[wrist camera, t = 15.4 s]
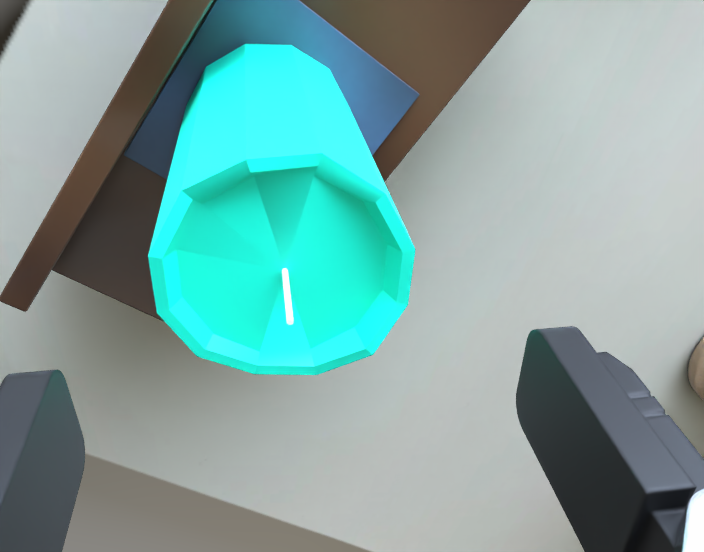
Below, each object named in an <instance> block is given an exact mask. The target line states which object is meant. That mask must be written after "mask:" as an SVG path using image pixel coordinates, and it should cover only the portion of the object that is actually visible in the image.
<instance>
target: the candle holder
mask: <svg viewBox="0 0 704 552" xmlns="http://www.w3.org/2000/svg"><path fill="white" fill-rule="evenodd" d="M688 378H689V382H690V384H691V386H692V388H693V389H694V391H695V392H696V393H697V394H698V395H699V396H700V397H701V398H702V399H703V400H704V337H703V338H702V340H701V341H700V342H699V344H698V345H697V347H696V348H695V350H694V352H693V354H692V356H691V359H690V361H689V366H688Z"/></svg>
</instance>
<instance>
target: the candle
mask: <svg viewBox="0 0 704 552" xmlns="http://www.w3.org/2000/svg"><path fill="white" fill-rule="evenodd" d="M414 256H415V248H414V245H413V243H412V241H411V239H410V237H409V235H408V232H407V230H406V228H405V226H404V224H403V222H402V220H401V217H400V215H399V213H398V211H397V209H396V207H395V204H394V202H393V200H392V198H391V196H390V194H389V192H388V189H387V187H386V185H385V183H384V181H383V179H382V176H381V174H380V172H379V170H378V168H377V166H376V164H375V161H374V159H373V157H372V155H371V153H370V151H369V149H368V146H367V144H366V142H365V140H364V138H363V136H362V133H361V131H360V129H359V127H358V125H357V123H356V121H355V118H354V116H353V114H352V112H351V110H350V108H349V106H348V104H347V102H346V100H345V98H344V96H343V94H342V92H341V90H340V88H339V87H338V85H337V83H336V81H335V79H334V77H333V75H332V73H331V71H330V69H329V68H327V67H325V66H324V65H322V64H321V63H319V62H317V61H316V60H314V59H313V58H311V57H309V56H308V55H306V54H305V53H303V52H301V51H300V50H298V49H297V48H295V47H293V46H292V45H270V44H244V45H242V46H241V47H239V48H237V49H235V50H234V51H232V52H230V53H229V54H227V55H225V56H224V57H222V58H220V59H218V60H217V61H215V62H213V63H212V64H210V65H208V66H206V68H205V70H204V72H203V74H202V76H201V78H200V80H199V81H198V83H197V85H196V87H195V89H194V91H193V93H192V95H191V97H190V99H189V101H188V103H187V105H186V108H185V112H184V116H183V120H182V124H181V128H180V132H179V136H178V140H177V144H176V148H175V151H174V155H173V159H172V163H171V167H170V171H169V175H168V179H167V183H166V187H165V191H164V195H163V199H162V203H161V207H160V210H159V214H158V218H157V222H156V226H155V230H154V234H153V238H152V242H151V246H150V250H149V254H148V259H149V266H150V272H151V279H152V285H153V291H154V298H155V304H156V311H157V314H158V315H159V316H160V317H161V318H162V319H163V320H164V321H165V322H166V323H167V325H168V326H169V327H170V328H171V329H172V330H173V331H174V332H175V333H176V334H177V335H178V336H179V338H180V339H181V340H182V341H183V342H184V343H185V344H186V345H187V346H188V347H189V348H190V349H191V351H192V352H193V353H194V354H195V355H196V356H197V357H200V358H204V359H207V360H210V361H213V362H217V363H220V364H223V365H226V366H230V367H233V368H236V369H239V370H242V371H246V372H249V373H252V374H277V375H318V374H321V373H324V372H326V371H329V370H332V369H335V368H338V367H340V366H343V365H346V364H349V363H352V362H354V361H357V360H360V359H363V358H366V357H368V356H371V355H373V354H374V353H375V351H376V350H377V349H378V347H379V346H380V344H381V343H382V341H383V340H384V338H385V337H386V336H387V334H388V333H389V331H390V330H391V328H392V327H393V326H394V324H395V323H396V321H397V320H398V318H399V317H400V315H401V314H402V313H403V311H404V310H405V308H406V307H407V305H408V300H409V293H410V286H411V278H412V271H413V264H414Z"/></svg>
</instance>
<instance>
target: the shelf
mask: <svg viewBox="0 0 704 552" xmlns="http://www.w3.org/2000/svg"><path fill="white" fill-rule="evenodd" d="M529 2H530V0H169V1H168V2H167V4H166V6H165V8H164V9H163V11H162V13H161V15H160V16H159V18H158V20H157V22H156V23H155V25H154V27H153V29H152V30H151V32H150V34H149V36H148V37H147V39H146V41H145V43H144V44H143V46H142V48H141V50H140V52H139V53H138V55H137V57H136V59H135V60H134V62H133V64H132V66H131V67H130V69H129V71H128V73H127V74H126V76H125V78H124V80H123V81H122V83H121V85H120V87H119V88H118V90H117V92H116V94H115V95H114V97H113V99H112V101H111V102H110V104H109V106H108V108H107V109H106V111H105V113H104V115H103V116H102V118H101V120H100V122H99V123H98V125H97V127H96V129H95V130H94V132H93V134H92V136H91V137H90V139H89V141H88V143H87V144H86V146H85V148H84V150H83V151H82V153H81V155H80V157H79V158H78V160H77V162H76V164H75V165H74V167H73V169H72V171H71V172H70V174H69V176H68V178H67V179H66V181H65V183H64V185H63V186H62V188H61V190H60V192H59V193H58V195H57V197H56V199H55V200H54V202H53V204H52V206H51V207H50V209H49V211H48V213H47V215H46V216H45V218H44V220H43V222H42V223H41V225H40V227H39V229H38V230H37V232H36V234H35V236H34V237H33V239H32V241H31V243H30V244H29V246H28V248H27V250H26V251H25V253H24V255H23V257H22V258H21V260H20V262H19V264H18V265H17V267H16V269H15V271H14V272H13V274H12V276H11V278H10V279H9V281H8V283H7V285H6V286H5V288H4V290H3V292H2V293H1V295H0V301H1V302H3V303H5V304H8V305H10V306H12V307H15V308H17V309H20V310H22V311H25V312H26V311H27V310H28V309H29V307H30V305H31V304H32V302H33V300H34V299H35V297H36V295H37V294H38V292H39V290H40V289H41V287H42V285H43V284H44V282H45V280H46V279H47V277H48V275H49V274H50V272H51V270H53V271H55V272H57V273H59V274H62V275H64V276H66V277H68V278H70V279H72V280H75V281H77V282H79V283H81V284H83V285H85V286H88V287H90V288H92V289H94V290H96V291H99V292H101V293H103V294H105V295H107V296H109V297H112V298H114V299H116V300H118V301H120V302H122V303H125V304H127V305H129V306H131V307H133V308H136V309H138V310H140V311H142V312H144V313H146V314H149V315H151V316H153V317H155V318H157V319H159V320H162V321H164V320H163V319H162V318H161V317H160V316H159V315H158V314H157V311H156V304H155V298H154V291H153V285H152V279H151V272H150V266H149V259H148V254H149V250H150V246H151V242H152V238H153V234H154V230H155V226H156V222H157V218H158V214H159V210H160V207H161V203H162V199H163V195H164V191H165V187H166V183H167V179H168V175H169V171H170V167H171V163H172V159H173V155H174V151H175V148H176V144H177V140H178V136H179V132H180V128H181V124H182V120H183V116H184V112H185V108H186V105H187V103H188V101H189V99H190V97H191V95H192V93H193V91H194V89H195V87H196V85H197V83H198V81H199V80H200V78H201V76H202V74H203V72H204V70H205V68H206V66H208V65H210V64H212V63H213V62H215V61H217V60H218V59H220V58H222V57H224V56H225V55H227V54H229V53H230V52H232V51H234V50H235V49H237V48H239V47H241V46H242V45H244V44H270V45H292V46H293V47H295V48H297V49H298V50H300V51H301V52H303V53H305V54H306V55H308V56H309V57H311V58H313V59H314V60H316V61H317V62H319V63H321V64H322V65H324V66H325V67H327V68H329V69H330V71H331V73H332V75H333V77H334V79H335V81H336V83H337V85H338V87H339V88H340V90H341V92H342V94H343V96H344V98H345V100H346V102H347V104H348V106H349V108H350V110H351V112H352V114H353V116H354V118H355V121H356V123H357V125H358V127H359V129H360V131H361V133H362V136H363V138H364V140H365V142H366V144H367V146H368V149H369V151H370V153H371V155H372V157H373V159H374V161H375V164H376V166H377V168H378V170H379V172H380V174H381V176H382V179H383V181H384V182H385V180H386V179H387V178H388V177H389V175H390V174H391V173H392V172H393V170H394V169H395V168H396V167H397V166H398V164H399V163H400V162H401V161H402V159H403V158H404V157H405V156H406V154H407V153H408V152H409V151H410V149H411V148H412V147H413V146H414V144H415V143H416V142H417V141H418V139H419V138H420V137H421V136H422V134H423V133H424V132H425V131H426V130H427V128H428V127H429V126H430V125H431V123H432V122H433V121H434V120H435V118H436V117H437V116H438V115H439V113H440V112H441V111H442V110H443V108H444V107H445V106H446V105H447V103H448V102H449V101H450V100H451V98H452V97H453V96H454V95H455V94H456V92H457V91H458V90H459V89H460V87H461V86H462V85H463V84H464V82H465V81H466V80H467V79H468V77H469V76H470V75H471V74H472V72H473V71H474V70H475V69H476V67H477V66H478V65H479V64H480V63H481V61H482V60H483V59H484V58H485V56H486V55H487V54H488V53H489V51H490V50H491V49H492V48H493V46H494V45H495V44H496V43H497V41H498V40H499V39H500V38H501V36H502V35H503V34H504V33H505V31H506V30H507V29H508V28H509V27H510V25H511V24H512V23H513V22H514V20H515V19H516V18H517V17H518V15H519V14H520V13H521V12H522V10H523V9H524V8H525V7H526V5H527V4H528V3H529ZM164 322H165V321H164Z"/></svg>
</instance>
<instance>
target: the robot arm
mask: <svg viewBox="0 0 704 552" xmlns="http://www.w3.org/2000/svg"><path fill="white" fill-rule="evenodd" d="M516 408H517V414H518V418H519V422H520V424H521V427H522V429H523V431H524V433H525V435H526V437H527V439H528V441H529V443H530V445H531V447H532V449H533V451H534V453H535V455H536V457H537V459H538V461H539V463H540V465H541V466H542V468H543V470H544V472H545V474H546V476H547V478H548V480H549V482H550V484H551V486H552V488H553V490H554V492H555V494H556V496H557V498H558V500H559V502H560V504H561V506H562V508H563V510H564V512H565V514H566V516H567V517H568V519H569V521H570V523H571V525H572V527H573V529H574V531H575V533H576V535H577V537H578V539H579V541H580V543H581V545H582V547H583V549H584V551H585V552H704V459H703V458H702V456H701V455H700V454H699V453H698V451H697V450H696V449H695V447H694V446H693V445H692V444H691V442H690V441H689V440H688V439H687V437H686V436H685V435H684V434H683V432H682V431H681V430H680V429H679V427H678V426H677V425H676V424H675V422H674V421H673V420H672V419H671V417H670V416H669V415H665V410H664V409H663V407H662V406H661V405H660V404H659V402H658V401H657V400H656V399H655V397H654V396H653V397H651V395H650V391H649V390H648V389H647V387H646V386H645V385H644V383H643V382H642V381H641V380H640V378H639V377H638V376H637V375H636V373H635V372H634V371H633V370H632V369H631V368H629V367H628V366H626V365H625V364H623V363H622V362H621V361H619V360H618V359H616V358H615V357H613V356H612V355H610V354H609V353H607V352H600V353H596V351H595V350H594V349H593V347H592V346H591V345H590V343H589V342H588V341H587V339H586V338H585V337H584V335H583V334H582V333H581V331H580V330H579V329H578V328H576V327H573V326H570V327H559V328H547V329H536V330H532V331H531V332H530V333H529V335H528V338H527V342H526V347H525V352H524V357H523V362H522V367H521V372H520V377H519V382H518V387H517V393H516ZM84 463H85V445H84V438H83V434H82V431H81V428H80V424H79V421H78V418H77V415H76V412H75V409H74V406H73V402H72V399H71V396H70V393H69V390H68V387H67V383H66V380H65V378H64V375H63V374H62V372H61V371H59V370H48V371H37V372H25V373H14V374H9V375H7V376H6V377H5V378H4V380H3V382H2V384H1V386H0V552H62V549H63V545H64V541H65V538H66V534H67V531H68V527H69V523H70V520H71V516H72V512H73V509H74V505H75V501H76V497H77V494H78V490H79V486H80V483H81V479H82V475H83V471H84Z"/></svg>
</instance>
